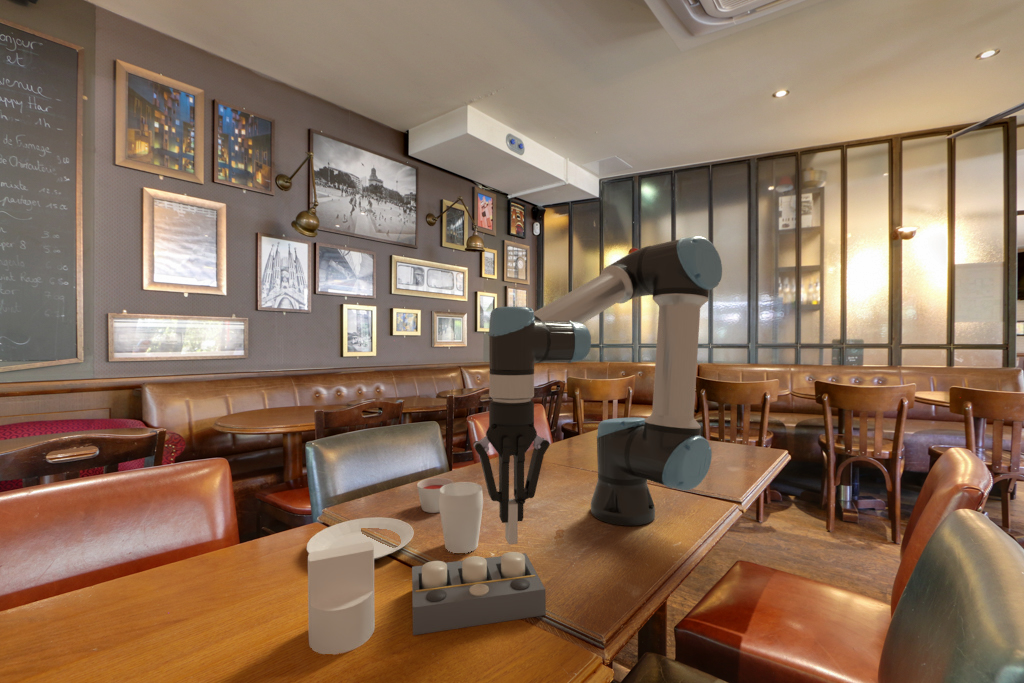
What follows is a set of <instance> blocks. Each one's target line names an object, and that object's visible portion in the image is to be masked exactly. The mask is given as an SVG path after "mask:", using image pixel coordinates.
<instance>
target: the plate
mask: <svg viewBox="0 0 1024 683" xmlns="http://www.w3.org/2000/svg"><path fill="white" fill-rule="evenodd" d="M361 528H379V529H387V530H391V531H393V532H395V533H397V534H398V535H399V536H400V539H401V544H400V545H399V546H398V547H396V548H392V547H389V546H387V545H385V544H382V543H380V542H378V541H376V540H374V539H372V538H370V537H367V536H366V535H364V534H362V532H361ZM414 532H415V531H414V528H413V527H412V525H410V524H409V523H408V522H405V521H403V520H400V519H397V518H393V517H381V516H380V517H378V516H377V517H363V518H356V519H355V518H354V519H351V520H346V521H343V522H339V523H336V524H334V525H331V526H328V527H326V528H324V529H322V530H321V531H319V532H317V533H315V535H313V536H312V537H311V538H310V539H309V540H308V542H307V543H306V551H307V554H309V553H310V552H314V551H320V550H325V549H331V548H337V547H342V546H348V545H353V544H359V543H364V542H370V541H371V542H372V543H373V545H374V561H376V560H379V559H381V558H384V557H386V556H389V555H390V554H393V553H396V552H397V551H398V550H401V549H403V548H404V547H405V546H406V545H408V544H409V543H410V542H411V540H412V539H413V537H414Z"/></svg>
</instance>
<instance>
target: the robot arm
mask: <svg viewBox="0 0 1024 683" xmlns="http://www.w3.org/2000/svg"><path fill="white" fill-rule="evenodd" d="M722 277H723V265H722V259H721V256H720V254H719V252H718V250H717V249H716V247H715V244H713V243H712V242H711V241H710V240H709V239H707V238H705V237H703V236H700V235H699V236H697V235H696V236H691V237H681V238H679V239H675V240H672V241H671V240H670V241H665V242H661V243H657V244H653V245H647V246H644V247H641V248H639V249H636V250H634V251H632V252H630V253H629V254H627V255H625V256H624V257H621V258H620V259H618V260H617V261H615V262H613V263H611V264H610V265H607V266H605V267H604V268H603V269H602V270H601V273H600V274H599V275H598V276H597V277H596V276H595V278H593V279H591V280H590V281H588V282H585V283H584V284H582V285H580V286H579V287H576V288H574V289H573V290H572V291H569V292H568V293H566V294H564V295H563V296H560V297H558V298H557V299H555V300H553V301H551V302H550V303H547V304H546V305H544V306H542V307H541V308H539V309H536V310H535V311H534V309H533V308H531V307H527V306H500V307H499V306H498V307H495V308H494V309H492V310H491V312H490V314H489V323H488V325H489V326H488V328H489V329H488V334H487V335H488V338H489V341H488V342H489V343H488V344H489V346H488V347H489V348H488V349H489V350H488V351H489V353H488V354H489V355H488V357H489V360H488V361H489V364H488V365H489V380H488V381H489V382H488V383H489V385H488V386H489V387H488V388H489V390H488V393H489V394H488V395H489V398H491V400H490V402H489V403H488V418H489V419H488V420H489V421H488V428H487V429H486V432H485V436H484V437H483V438H481V439H479V440H474V442H473V444H472V445H473V446H472V447H473V448H474V449H475V451H476V453H477V454H478V455H479V456H478V457H479V460H480V464H481V468H482V472H483V476H484V479H485V480H484V481H485V484H486V488H487V493H488V495H489V498H490V500H491V501H492V502H498V503H499V515H498V516H499V519H500V521H501V523H502V524H504V525H505V526H504V527H505V531H504V532H505V536H504V537H505V539H506V542H507V544H508V545H515V544H518V542H519V541H518V536H519V535H518V534H519V532H518V530H519V528H518V522H523V521H524V504H525V503H526V500H529V499H533V498H534V497H535V494H536V490H537V486H538V482H539V477H540V474H541V468H542V464H543V459H544V455H545V453H546V452H547V451H548V449H549V447H550V445H551V444H550V442H549V440H548V439H546V438H544V437H541V436H539V435H538V432H537V429H536V428H535V402H533V400H531V399H533V398H534V397H535V364H540V363H541V364H543V363H545V364H547V363H549V364H552V363H553V364H555V363H556V364H557V363H566V364H567V363H568V364H572V363H576V362H581V361H583V360H585V358H586V357H588V355H589V354H590V351H591V348H592V337H591V333H590V330H589V329H588V327H587V326H586V325H585V324H584V323H586V322H588V321H589V320H591V319H593V318H594V317H596V316H597V315H599V314H600V313H602V312H604V311H606V310H608V309H609V308H611V307H612V306H614V305H616V304H625V303H626V302H628V301H630V300H632V299H635V298H639V297H645V296H646V297H647V296H652V300H653V301H654V303H655V304H657V306H658V319H657V334H656V351H655V363H654V364H655V365H654V366H655V367H654V381H653V395H652V396H653V397H652V409H651V410H652V412H651V413H650V415H648V417H646V418H644V417H617V418H609V419H604V420H602V421H600V422H599V423H598V425H597V435H596V447H597V448H596V449H597V450H596V454H597V455H596V456H597V482H596V485H595V488H594V491H593V495H592V498H591V501H590V513H591V515H592V516H593V517H594V518H595V519H597V520H599V521H602V522H604V523H607V524H610V525H611V524H612V525H617V526H625V527H626V526H628V527H631V526H635V527H636V526H642V525H647V524H649V523H651V522H653V521H654V520H655V518H656V508H655V507H656V506H655V504H654V500H653V497H652V494H651V492H650V488H649V485H648V481H649V482H652V483H653V482H654V483H657V484H659V485H662V486H665V487H666V488H669V489H675V490H680V491H690V490H693V489H695V488H697V487H698V486H699V485H701V483H702V482H703V480H704V479H705V478H706V477H707V475H708V473H709V470H710V467H711V464H712V457H713V453H712V448H711V446H710V442H709V441H708V439H706V438H705V437H704V436H701V434H702V433H701V432H702V431H701V429H702V426H701V425H700V423H699V422H698V421H697V420H696V419H695V402H696V385H697V368H698V366H697V365H698V354H699V353H698V351H699V350H698V349H699V334H700V317H701V308H702V307H703V306H704V305H705V304H706V303H707V302H708V301H709V296H710V295H709V294H710V292H709V291H711V290H714V289H715V288H717V287H718V286H719V284H720V282H721V281H722ZM489 444H491V447H493V449H494V450H495V451H496V452H497V454H498V490H497V486H496V480H495V479H494V478H495V477H494V473H493V468H492V465H491V461H490V457H489V455H488V452H489V451H490V447H489V446H490V445H489ZM532 444H533V445H532ZM531 445H532V447H533V451H532V453H531V458H530V463H529V466H528V472H527V476H526V480H525V461H526V456H525V455H526V453H527V451H528V450H529V449H530V447H531ZM511 456H512V457H513V497H514V498H510V461H511V460H510V459H511Z"/></svg>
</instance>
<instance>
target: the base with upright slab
mask: <svg viewBox="0 0 1024 683" xmlns="http://www.w3.org/2000/svg"><path fill="white" fill-rule="evenodd" d="M307 599H308V600H307V602H308V603H307V608H308V610H307V611H308V613H307V614H308V618H307V619H308V624H307V625H308V645H309V647H310V649H311V648H312V649H311V650H312V651H314V652H316V653H317V652H318V653H317V654H320V655H321V654H322V655H325V654H333V655H339V653H340V654H344V653H348V652H350V651H353V650H355V649H357V648H359V647H361V646H362V645H364V644H365V643H366V642H368V641H369V639H370V638H371V637H372V636H373V635H374V634H373V633H374V632H375V630H376V629H375V560H374V545H373V543H372V542H371V541H370V542H364V543H359V544H353V545H348V546H342V547H337V548H331V549H325V550H320V551H314V552H310V553H308V556H307Z"/></svg>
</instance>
